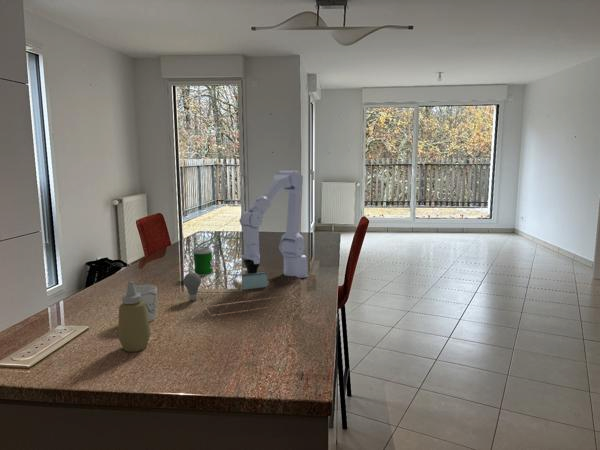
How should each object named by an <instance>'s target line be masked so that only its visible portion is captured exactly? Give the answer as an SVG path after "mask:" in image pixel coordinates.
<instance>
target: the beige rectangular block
mask: <svg viewBox="0 0 600 450" xmlns="http://www.w3.org/2000/svg"><path fill="white" fill-rule="evenodd" d="M242 274H248V271H247V268H246V267H242V268H241V275H242Z"/></svg>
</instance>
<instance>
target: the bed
mask: <svg viewBox="0 0 600 450" xmlns="http://www.w3.org/2000/svg"><path fill="white" fill-rule="evenodd" d="M232 283H233V284H234V285H235V286H236V287H237V289H239V290H243V289H242V280H241V281H238V280H237V279H236V278H232ZM268 286H270V282H269V280H267V287H268Z"/></svg>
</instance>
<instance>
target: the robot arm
mask: <svg viewBox="0 0 600 450" xmlns="http://www.w3.org/2000/svg"><path fill="white" fill-rule="evenodd" d="M303 178H304V177H303V175H302V174H301V172H300V171H298V170H278V171H277V172H276V173H275V174H274V175H273V177H272V179H273V180H272V182H271V183H270V185H269V187H268V188H267V189H266V191H265V193H264V194H263V195H262V196H258V197H256V198H255V201H254V202H253V203H252V205H251V206H250V207H249V208H248V210H246V211H244V212H243V213H242V214H241V215H240V219H239V223H240V225H241V227H242V229H241V230H242V232H243V254H242V255H240V257H241V259H244V260H243V263H244V266H245V268H247V271H248V274H250V273H258V269H259V266H260V264H261V255H260V235H259V234H260V231H259V230H260V228H259V227H260V226H261V225H262V222H263V218H264V215H265V214H267V211H268V210H269V209H270V207H271V206H272V205H271V201H273V199H274V198H275V197H276V196H277V195H278V193H279V192H280V191H281V190H285V191H286V192H287V194H288V200H287V201H288V202H287V212H286V213H287V214H286V215H287V216H286V217H287V218H286V228H285V230H286V231H285V232H284V233H283V234H282V235H281V239H280V243H279V245H278V249H279V251H280V252H281V255H282V256H283V274H284V276H287V277H296V278H298V279H301V278H308V277H309V275H308V260H307V255H305V254H304V253H305V249H306V245H305V237H303V235H302V234H301V233H300V229H301V228H300V227H301V214H302V213H301V212H302V203H303V201H302V199H303V198H302V197H303V180H304V179H303Z"/></svg>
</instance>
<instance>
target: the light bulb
mask: <svg viewBox="0 0 600 450" xmlns="http://www.w3.org/2000/svg"><path fill="white" fill-rule="evenodd" d="M182 282H183V285H184V286H185V289H186V290H187V294H188V296H189V300H190V301H192V302H194V301H197V299H198V297H197V296H198V290H199V288H200V286H201V283H202V278H201V276H199V275H198V274H197V273H195V271H194V272H188V273H186V275H184V278H183V281H182Z"/></svg>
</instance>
